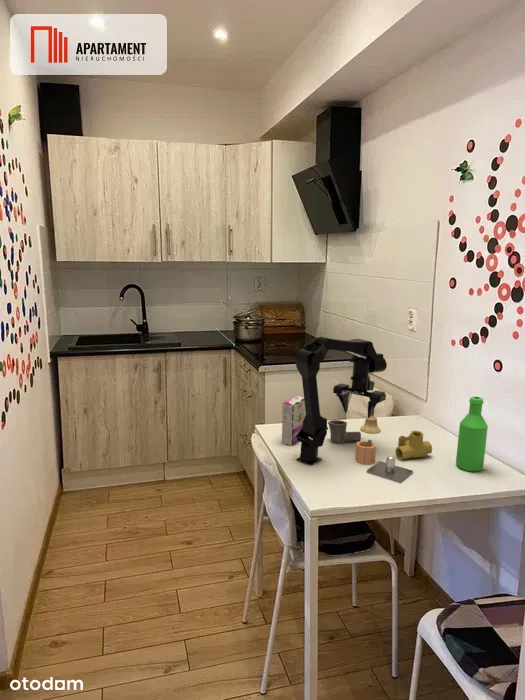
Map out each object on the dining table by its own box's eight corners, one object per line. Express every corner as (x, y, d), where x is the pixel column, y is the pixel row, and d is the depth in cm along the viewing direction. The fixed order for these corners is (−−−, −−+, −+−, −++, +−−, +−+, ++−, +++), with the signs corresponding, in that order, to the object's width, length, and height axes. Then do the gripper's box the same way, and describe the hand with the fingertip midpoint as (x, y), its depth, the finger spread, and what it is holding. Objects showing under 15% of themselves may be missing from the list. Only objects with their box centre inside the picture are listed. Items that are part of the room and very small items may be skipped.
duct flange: (400, 483, 165) (401, 466, 164) (366, 472, 172) (367, 456, 171) (412, 472, 173) (414, 456, 171) (379, 463, 180) (381, 447, 179)
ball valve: (432, 459, 186) (415, 446, 195) (436, 434, 183) (418, 421, 191) (402, 466, 182) (386, 452, 191) (406, 440, 178) (389, 427, 187)
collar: (368, 465, 177) (370, 447, 176) (352, 460, 181) (353, 442, 180) (377, 460, 182) (378, 442, 181) (361, 455, 186) (362, 437, 185)
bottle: (466, 473, 173) (473, 402, 168) (450, 463, 181) (457, 394, 176) (488, 471, 175) (496, 400, 170) (471, 461, 183) (479, 393, 179)
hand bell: (383, 429, 214) (386, 392, 211) (376, 435, 207) (379, 396, 204) (364, 425, 218) (367, 388, 215) (357, 430, 211) (359, 393, 208)
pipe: (361, 445, 196) (362, 425, 195) (327, 444, 196) (328, 424, 195) (358, 439, 202) (360, 419, 201) (326, 438, 202) (327, 419, 201)
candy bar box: (294, 434, 205) (296, 395, 202) (305, 437, 202) (307, 397, 199) (280, 443, 196) (282, 401, 192) (292, 446, 193) (293, 404, 190)
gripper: (393, 374, 188) (389, 415, 191) (347, 366, 199) (344, 405, 202) (381, 379, 179) (377, 422, 182) (333, 371, 190) (330, 411, 193)
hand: (357, 415), depth 190 cm, fingers open, 9 cm apart
